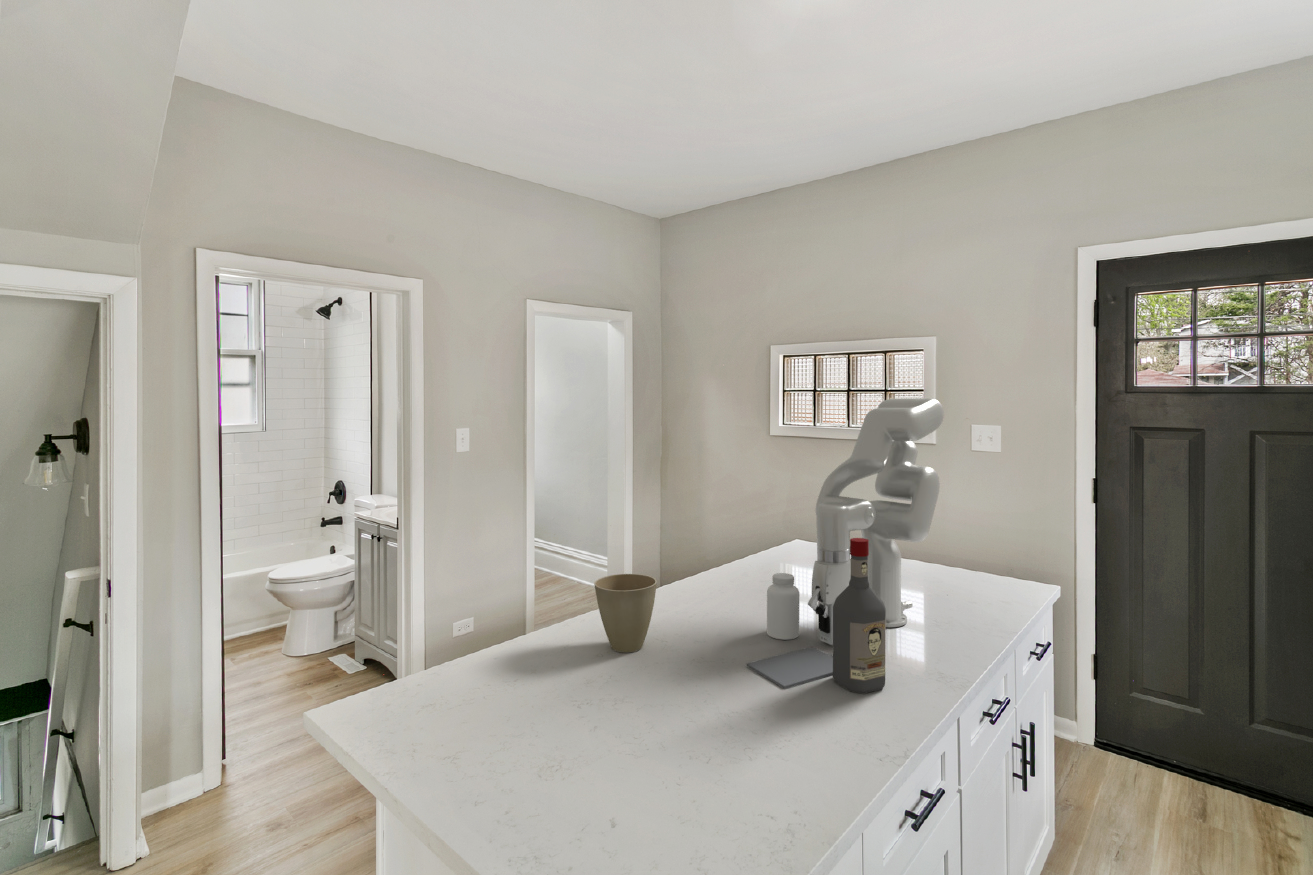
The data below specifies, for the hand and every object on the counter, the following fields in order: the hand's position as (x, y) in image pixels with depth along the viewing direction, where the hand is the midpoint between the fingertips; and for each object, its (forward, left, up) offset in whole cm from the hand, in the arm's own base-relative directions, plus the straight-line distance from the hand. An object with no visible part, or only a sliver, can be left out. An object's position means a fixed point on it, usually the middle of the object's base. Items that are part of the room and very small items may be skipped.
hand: (834, 627), depth 153 cm
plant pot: (+44, -24, -4) cm, 50 cm away
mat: (+16, +6, -4) cm, 18 cm away
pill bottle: (+7, -11, -4) cm, 13 cm away
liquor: (+11, +18, -4) cm, 22 cm away
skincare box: (0, 0, -3) cm, 3 cm away
